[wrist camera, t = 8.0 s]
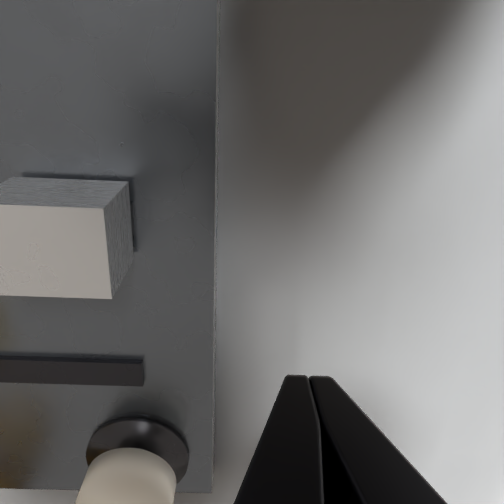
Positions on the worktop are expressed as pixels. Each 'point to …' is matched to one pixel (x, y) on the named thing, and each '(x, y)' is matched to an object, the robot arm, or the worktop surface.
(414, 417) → the worktop surface
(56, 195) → the slider
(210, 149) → the panel
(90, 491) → the button
